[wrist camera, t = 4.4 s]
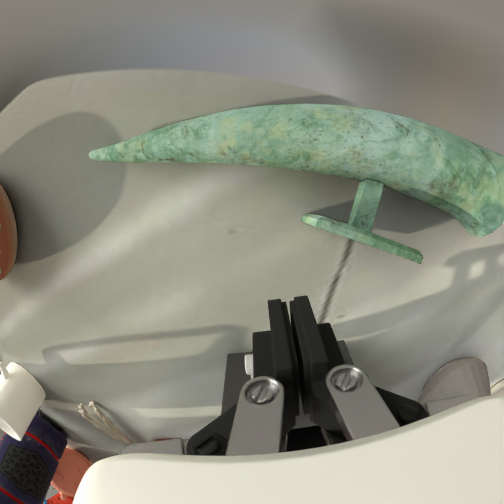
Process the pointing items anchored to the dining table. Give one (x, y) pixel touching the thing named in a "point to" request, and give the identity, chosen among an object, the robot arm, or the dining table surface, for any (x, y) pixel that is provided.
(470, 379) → the coffee pot
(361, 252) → the dining table surface
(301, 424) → the drawer
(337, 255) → the dining table surface
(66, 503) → the toy train
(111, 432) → the jawbone
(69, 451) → the sugar bowl
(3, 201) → the donut
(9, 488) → the canister
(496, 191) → the decorative horn
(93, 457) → the dining table surface
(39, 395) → the cup
